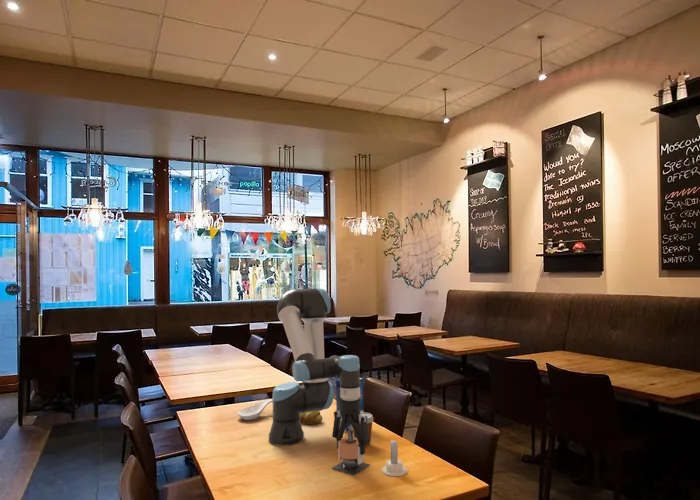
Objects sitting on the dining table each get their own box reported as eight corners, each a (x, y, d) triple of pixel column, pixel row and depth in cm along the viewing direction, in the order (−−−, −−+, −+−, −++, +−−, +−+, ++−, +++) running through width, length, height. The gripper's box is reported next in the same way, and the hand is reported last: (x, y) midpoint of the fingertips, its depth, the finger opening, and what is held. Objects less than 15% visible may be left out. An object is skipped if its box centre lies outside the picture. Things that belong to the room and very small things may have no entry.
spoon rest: (245, 424, 224) (245, 409, 224) (233, 418, 233) (233, 404, 233) (286, 413, 240) (286, 399, 240) (273, 408, 249) (273, 395, 249)
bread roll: (326, 422, 224) (326, 405, 225) (312, 427, 217) (312, 410, 218) (308, 417, 233) (307, 400, 233) (293, 422, 226) (293, 405, 226)
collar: (335, 456, 172) (335, 442, 172) (348, 449, 178) (348, 435, 179) (353, 461, 167) (353, 446, 167) (365, 453, 174) (365, 440, 174)
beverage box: (363, 426, 218) (363, 378, 219) (346, 431, 211) (345, 382, 212) (353, 422, 223) (353, 376, 224) (336, 428, 216) (335, 380, 217)
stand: (332, 468, 171) (331, 431, 172) (347, 459, 180) (347, 424, 180) (354, 475, 166) (353, 436, 166) (369, 465, 174) (369, 428, 174)
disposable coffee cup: (372, 449, 189) (371, 419, 190) (349, 448, 191) (348, 418, 192) (375, 441, 199) (375, 412, 199) (353, 439, 201) (353, 411, 201)
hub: (377, 472, 168) (376, 442, 168) (390, 463, 175) (389, 435, 176) (399, 478, 163) (398, 448, 163) (411, 469, 170) (410, 440, 170)
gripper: (321, 396, 177) (322, 457, 176) (367, 404, 165) (368, 470, 164) (333, 391, 183) (334, 451, 182) (379, 399, 171) (380, 463, 170)
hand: (350, 460), depth 173 cm, fingers closed on collar, 8 cm apart
